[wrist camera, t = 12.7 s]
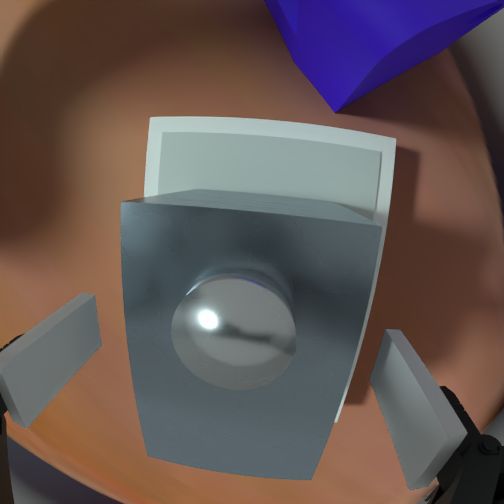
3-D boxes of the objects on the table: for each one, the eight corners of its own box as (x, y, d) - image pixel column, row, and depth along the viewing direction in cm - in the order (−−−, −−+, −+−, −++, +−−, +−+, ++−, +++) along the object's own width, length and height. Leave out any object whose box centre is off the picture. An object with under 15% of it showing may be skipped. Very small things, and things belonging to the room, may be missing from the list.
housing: (192, 369, 21) (141, 478, 11) (196, 188, 18) (101, 205, 8) (303, 383, 20) (308, 504, 10) (333, 201, 17) (396, 234, 7)
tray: (162, 381, 25) (151, 399, 22) (164, 123, 19) (149, 116, 17) (333, 402, 24) (336, 423, 21) (383, 142, 18) (397, 138, 16)
